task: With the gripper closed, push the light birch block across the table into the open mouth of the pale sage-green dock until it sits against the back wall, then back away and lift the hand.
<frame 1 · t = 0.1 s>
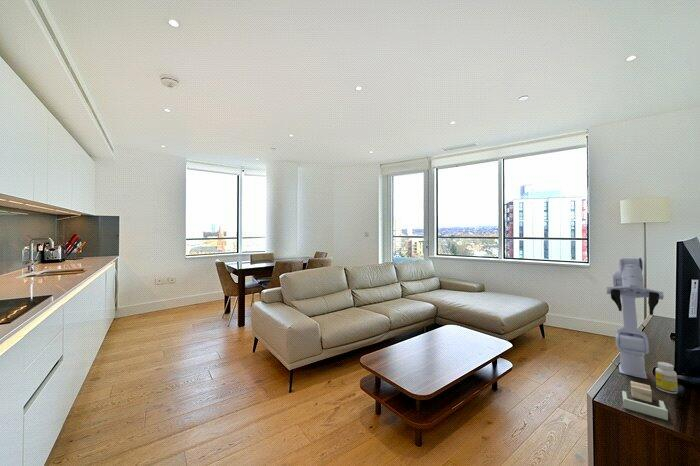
hand: (635, 311, 98), 32 cm above the table, tool tilted 50°, fingers open, 7 cm apart
dock: (643, 407, 94), on the table
supplement bottle: (666, 390, 104), on the table
birch block: (641, 397, 101), on the table
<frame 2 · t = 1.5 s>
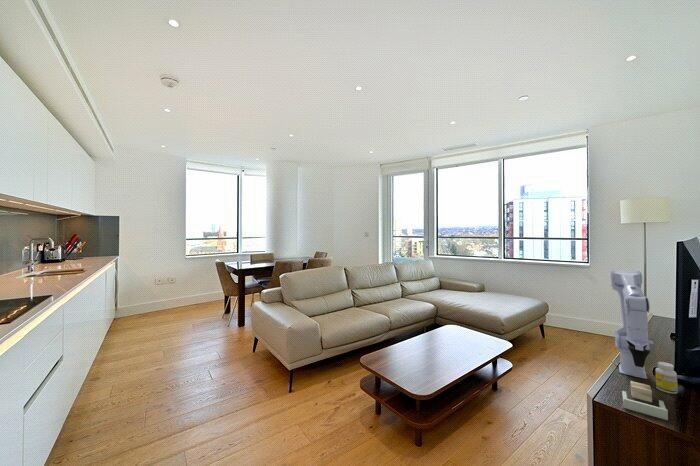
hand: (638, 363, 106), 9 cm above the table, tool pointing down, fingers open, 6 cm apart
nothing on the table moved.
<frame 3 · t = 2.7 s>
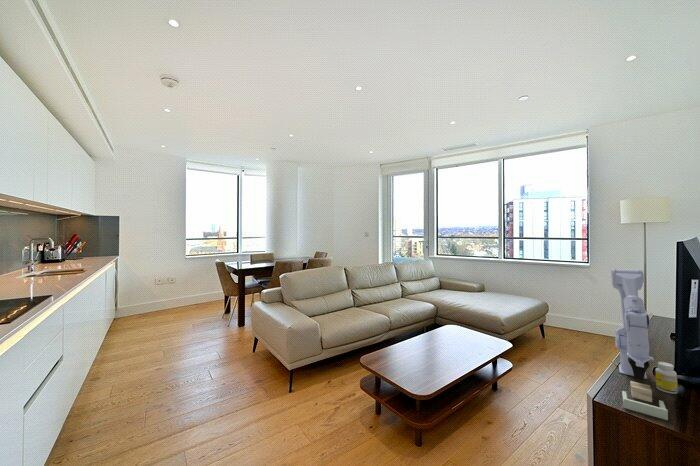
hand: (638, 379, 106), 3 cm above the table, tool pointing down, fingers closed
nothing on the table moved.
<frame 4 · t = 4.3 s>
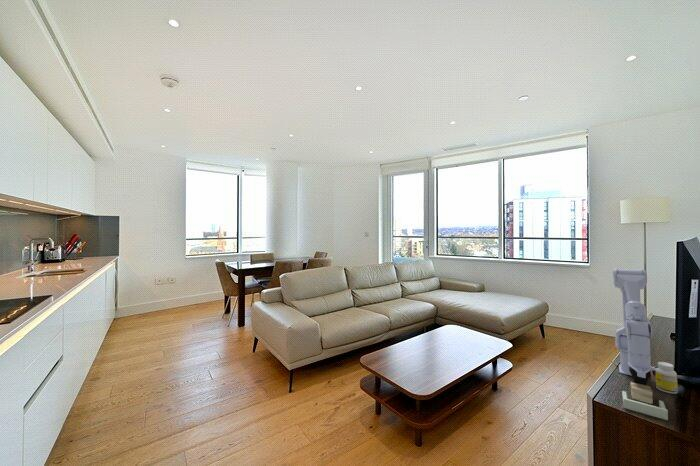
hand: (640, 389, 103), 1 cm above the table, tool pointing down, fingers closed
birch block: (641, 398, 100), on the table, touching gripper
everything else where it was.
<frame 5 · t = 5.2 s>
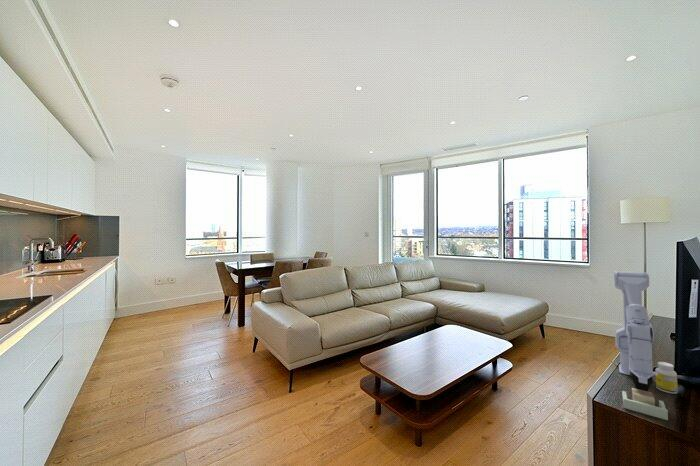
hand: (641, 395, 99), 1 cm above the table, tool pointing down, fingers closed
birch block: (643, 404, 96), on the table, touching gripper
everything else where it was.
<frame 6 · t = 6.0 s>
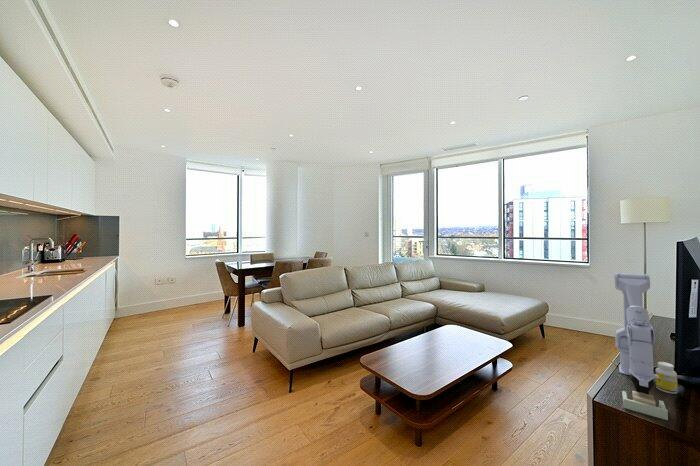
hand: (642, 398, 97), 1 cm above the table, tool pointing down, fingers closed
birch block: (643, 408, 94), on the table, touching gripper
everything else where it was.
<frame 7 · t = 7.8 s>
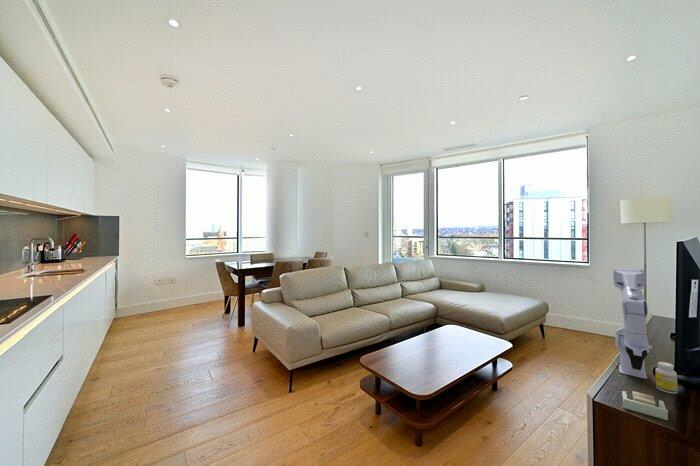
hand: (636, 368, 102), 9 cm above the table, tool pointing down, fingers closed
birch block: (643, 408, 94), on the table
everything else where it was.
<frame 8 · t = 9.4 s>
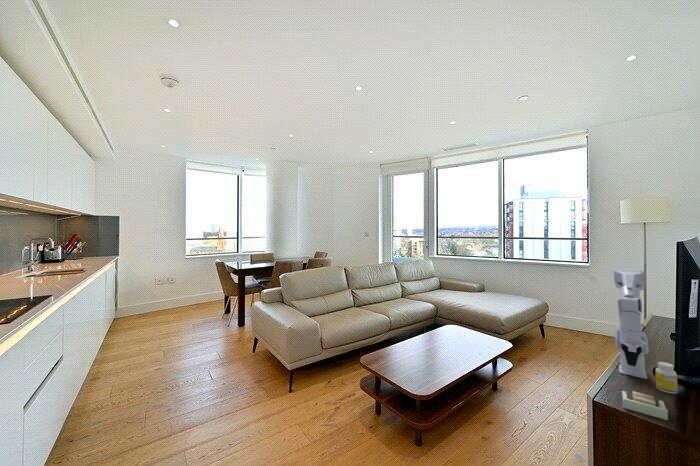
hand: (631, 365, 105), 9 cm above the table, tool pointing down, fingers closed
nothing on the table moved.
at the end: birch block 0.1 cm from the target spot, on the table; birch block tilted 0°; the gripper is holding nothing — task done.
